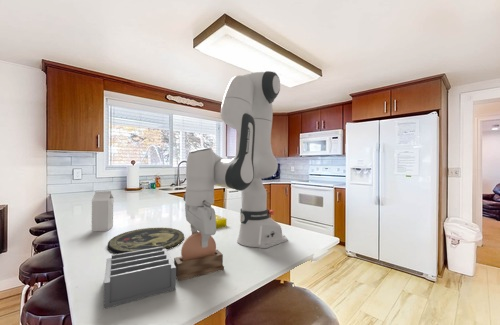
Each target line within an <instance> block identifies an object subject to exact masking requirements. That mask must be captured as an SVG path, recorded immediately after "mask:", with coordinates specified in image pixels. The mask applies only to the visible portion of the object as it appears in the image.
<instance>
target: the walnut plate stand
mask: <svg viewBox="0 0 500 325" xmlns="http://www.w3.org/2000/svg"><path fill="white" fill-rule="evenodd" d="M223 259H224V254H223V252H221V251H220V250H219V249H216V252H215V255H210V256H205V257H201V258H196V259H191V260H186V261H183V259H182V256H176V257H174V258H173V263H174V265H175V266H176V280H177V282H180V281H183V280H188V279H192V278H196V277H200V276H204V275H207V274H212V273H216V272H221V271H224V270H225V266H224V264H223V262H224V260H223Z"/></svg>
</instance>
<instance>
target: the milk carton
mask: <svg viewBox="0 0 500 325" xmlns="http://www.w3.org/2000/svg"><path fill="white" fill-rule="evenodd" d="M113 227H114V197H113V194H112V191H111V190H107V191H106V190H102V191H101V190H97V191H94V195H93V197H92V200H91V232H104V231H105V232H107V231H109V230H110V229H112V228H113Z"/></svg>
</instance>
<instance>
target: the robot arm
mask: <svg viewBox="0 0 500 325" xmlns="http://www.w3.org/2000/svg"><path fill="white" fill-rule="evenodd" d="M280 91H281V81H280V77H279V75H278V74H277V73H276V72H274V71H269V70H268V71H267V70H266V71H257V72H251V73H245V74H243V75H234V77H232V78H231V79H230V81H229V83H228V85H227V87H226V89H225V93H224V94H223V99H222V102H221V108H220V117H221V120H222V121H223V122H224V123H225V125H226V126H228V127H229V128H232V129H234V130H236V132H237V141H236V152H235V156H234V157H233V158H223V157H221V156H219V155H218V154H216V152H214V151H213V149H212V148H210V147H202V148H195V149H191V150H190V151H189V152H188V153H187V154H188V155H187V158H186V163H185V164H186V166H185V178H186V186H185V193H184V194H183V202H184V209H185V210H184V211H185V219H186V221H187V222H188V223H189V224H190V229H191V230H190V231H191V235H192V234H194V233H197V232H200V233H201V236H202V240H201V246H202V247H203V248H204V247H207V246H208V240H209V237H210V236H214V235H216V233H217V228H216V215H217V214H216V211H215V209H214V208H213V207H212V205H214V204H215V187H217V186H218V187H222V188H229V189H232V190H235V191H241V208H240V212H239V213H240V216H239V217H240V218H239V219H240V220H239V221H240V228H239V232H238V233H239V234H238V236H237V240H236V241H237V243H238V244H240V245H242V246H245V247H250V248H258V249H259V248H260V249H268V248H271V247H273V246H277V245H278V244H282V243H284V242H287V241H288V237H287V236H286V235H284V234H283V231H282V230H283V229H282V227H281V225H280V224H279V223H278V222H276V221H275V220H274V219H273V218H272V217H271V216H274V214H275V210H273V209H268V207H267V205H268V204H267V203H268V201H267V200H268V198H267V197H268V192H267V189H266V188H265V186H264V183H263V179H268V178H271V177H273V176H274V175H275V174H276V173H277V171H278V167H279V163H278V160H277V157H276V156H275V155H274V152H273V149H272V148H273V147H272V143H271V142H272V141H271V140H272V137H271V136H272V127H273V118H274V117H273V115H274V112H273V103H274V102H275V99H276V98H277V97H278V95H279V93H280ZM270 215H271V216H270Z"/></svg>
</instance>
